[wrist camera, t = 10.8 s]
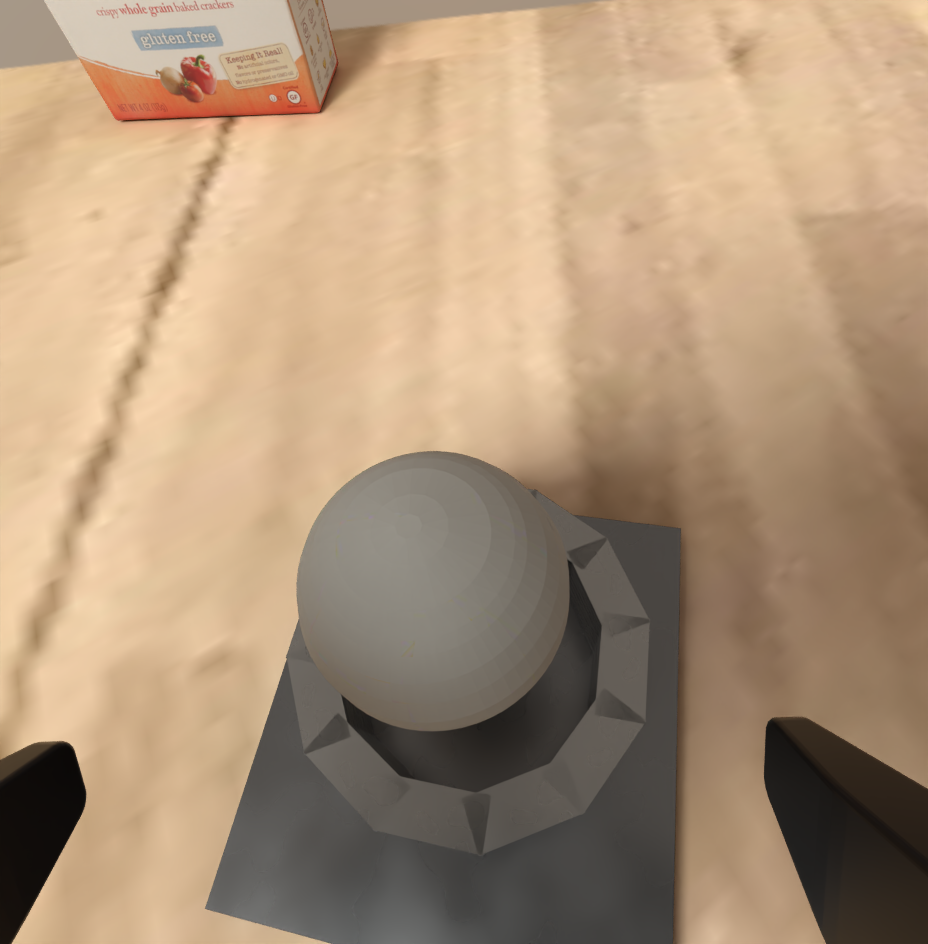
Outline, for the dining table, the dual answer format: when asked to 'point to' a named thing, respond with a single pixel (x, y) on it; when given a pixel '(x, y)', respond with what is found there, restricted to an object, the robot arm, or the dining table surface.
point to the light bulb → (433, 591)
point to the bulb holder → (483, 786)
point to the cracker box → (202, 55)
